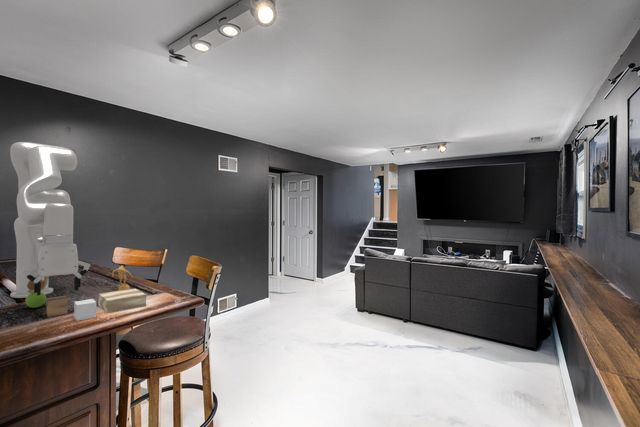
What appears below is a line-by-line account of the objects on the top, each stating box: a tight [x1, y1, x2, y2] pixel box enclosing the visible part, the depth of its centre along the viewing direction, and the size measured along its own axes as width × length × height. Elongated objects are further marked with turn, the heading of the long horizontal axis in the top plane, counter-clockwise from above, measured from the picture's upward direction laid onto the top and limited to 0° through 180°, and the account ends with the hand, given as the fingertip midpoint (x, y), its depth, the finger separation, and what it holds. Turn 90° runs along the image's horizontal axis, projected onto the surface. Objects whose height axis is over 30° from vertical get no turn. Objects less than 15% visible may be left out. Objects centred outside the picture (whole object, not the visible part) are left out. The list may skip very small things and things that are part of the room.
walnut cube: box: [45, 295, 69, 318], centre depth 105 cm, size 5×5×5 cm
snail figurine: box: [25, 276, 50, 309], centre depth 110 cm, size 5×6×12 cm
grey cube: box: [73, 298, 97, 322], centre depth 102 cm, size 5×5×5 cm
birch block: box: [97, 288, 147, 314], centre depth 115 cm, size 12×12×4 cm
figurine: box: [111, 265, 133, 291], centre depth 129 cm, size 8×6×12 cm
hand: (58, 292), depth 104 cm, fingers open, 9 cm apart
